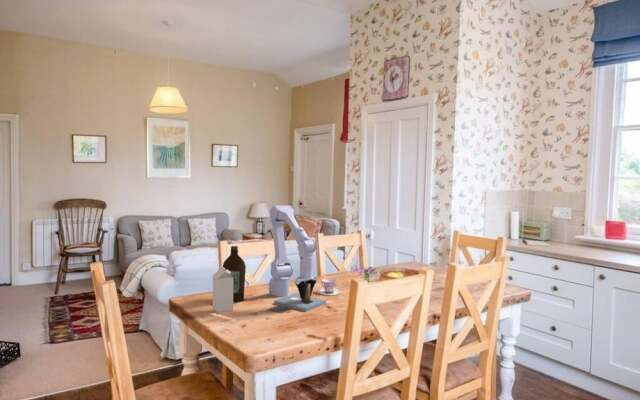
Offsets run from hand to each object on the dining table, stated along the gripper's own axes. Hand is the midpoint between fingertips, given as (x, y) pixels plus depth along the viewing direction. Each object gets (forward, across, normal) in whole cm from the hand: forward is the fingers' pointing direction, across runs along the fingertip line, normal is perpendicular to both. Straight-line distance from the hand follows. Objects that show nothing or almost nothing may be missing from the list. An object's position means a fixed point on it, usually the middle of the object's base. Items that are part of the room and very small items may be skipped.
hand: (305, 297), depth 196 cm
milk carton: (+5, -27, +24) cm, 36 cm away
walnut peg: (+2, 0, 0) cm, 2 cm away
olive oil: (+5, -12, +33) cm, 35 cm away
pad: (+5, -12, +5) cm, 14 cm away
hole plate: (+5, 0, +3) cm, 5 cm away
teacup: (+5, +27, +6) cm, 28 cm away
